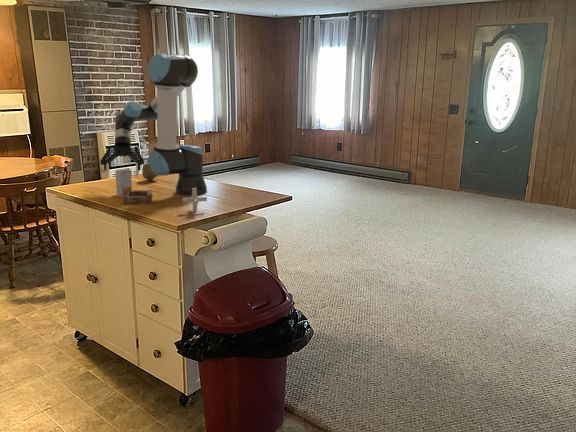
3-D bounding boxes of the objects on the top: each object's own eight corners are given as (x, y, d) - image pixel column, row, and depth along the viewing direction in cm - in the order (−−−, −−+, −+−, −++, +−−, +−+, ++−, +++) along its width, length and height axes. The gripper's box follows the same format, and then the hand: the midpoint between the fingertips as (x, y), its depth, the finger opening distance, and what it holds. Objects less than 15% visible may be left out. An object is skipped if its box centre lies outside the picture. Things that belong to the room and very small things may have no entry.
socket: (152, 196, 239) (152, 189, 238) (151, 203, 226) (151, 196, 225) (126, 196, 236) (125, 190, 235) (123, 204, 223) (123, 197, 222)
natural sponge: (162, 179, 277) (161, 161, 274) (156, 182, 268) (155, 164, 266) (146, 178, 278) (145, 160, 275) (140, 181, 269) (138, 163, 267)
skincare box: (121, 196, 237) (120, 171, 234) (116, 194, 240) (114, 170, 237) (132, 194, 242) (131, 169, 239) (127, 192, 244) (125, 168, 241)
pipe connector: (208, 213, 211) (207, 190, 208) (184, 214, 208) (183, 191, 206) (205, 207, 220) (204, 185, 218) (182, 208, 218) (181, 186, 215)
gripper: (149, 144, 255) (149, 179, 245) (97, 144, 250) (95, 180, 240) (148, 135, 249) (148, 170, 239) (95, 135, 243) (93, 171, 233)
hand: (122, 175), depth 239 cm, fingers open, 13 cm apart
